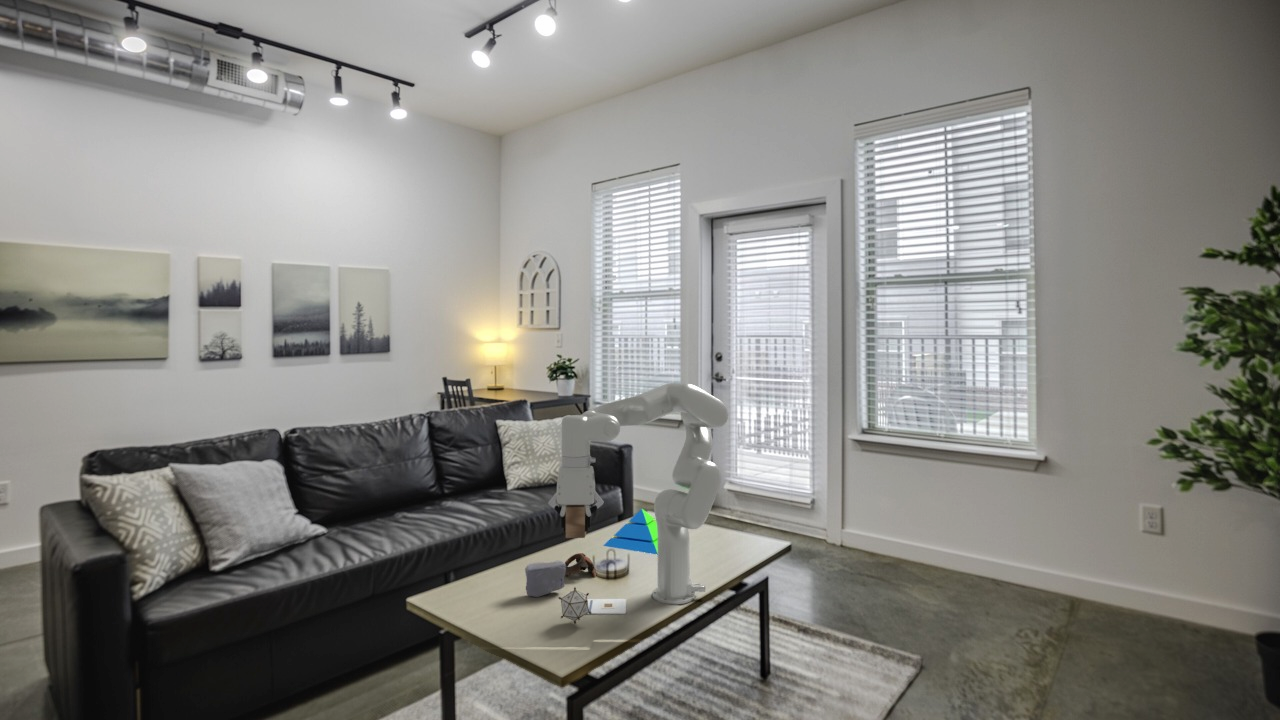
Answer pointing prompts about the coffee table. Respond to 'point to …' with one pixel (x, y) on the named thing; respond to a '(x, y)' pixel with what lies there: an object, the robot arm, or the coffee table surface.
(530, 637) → the coffee table surface
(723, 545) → the coffee table surface
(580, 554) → the brown arched sculpture
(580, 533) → the walnut block
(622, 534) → the pyramid toy
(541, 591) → the stone block
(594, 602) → the white picture card
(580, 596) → the game die
